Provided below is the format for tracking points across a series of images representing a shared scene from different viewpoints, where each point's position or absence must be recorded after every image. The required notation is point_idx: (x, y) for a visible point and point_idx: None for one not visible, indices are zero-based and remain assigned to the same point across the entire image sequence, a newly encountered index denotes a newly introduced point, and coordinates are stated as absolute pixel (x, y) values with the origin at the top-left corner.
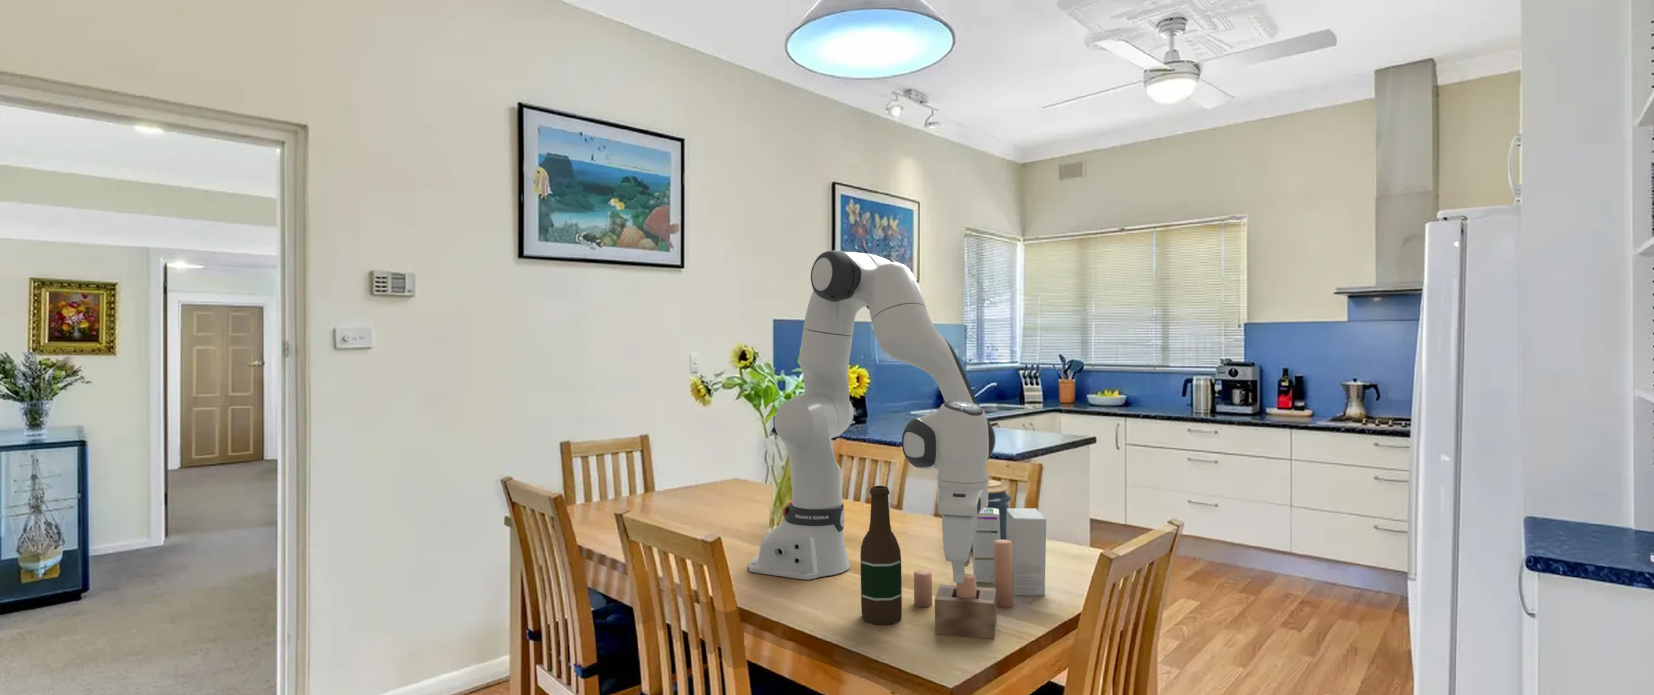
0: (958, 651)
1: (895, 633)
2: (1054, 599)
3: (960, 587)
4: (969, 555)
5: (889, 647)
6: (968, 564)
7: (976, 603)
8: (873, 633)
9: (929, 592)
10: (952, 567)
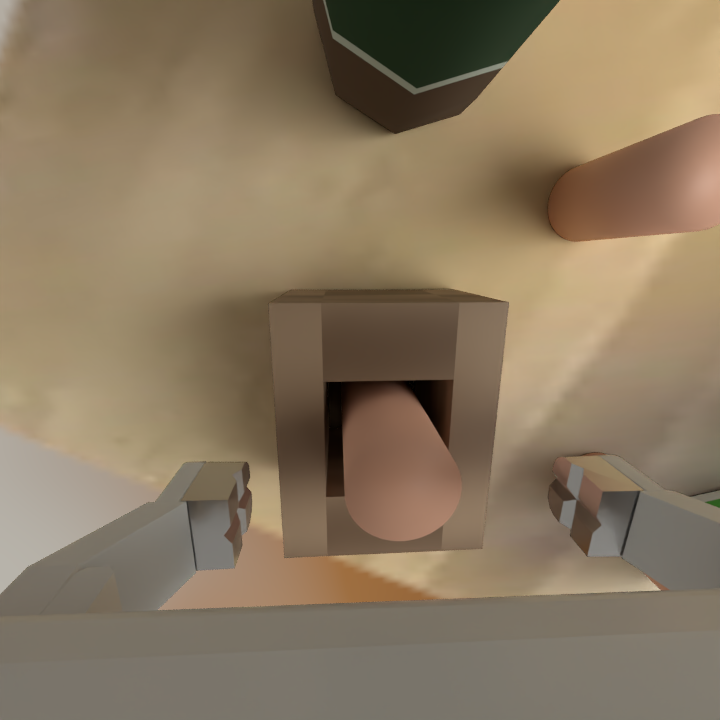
0: (169, 381)
1: (255, 132)
2: None
3: (352, 440)
4: (625, 556)
5: (110, 130)
6: (554, 513)
7: (280, 491)
8: (227, 29)
9: (596, 229)
10: (88, 536)
